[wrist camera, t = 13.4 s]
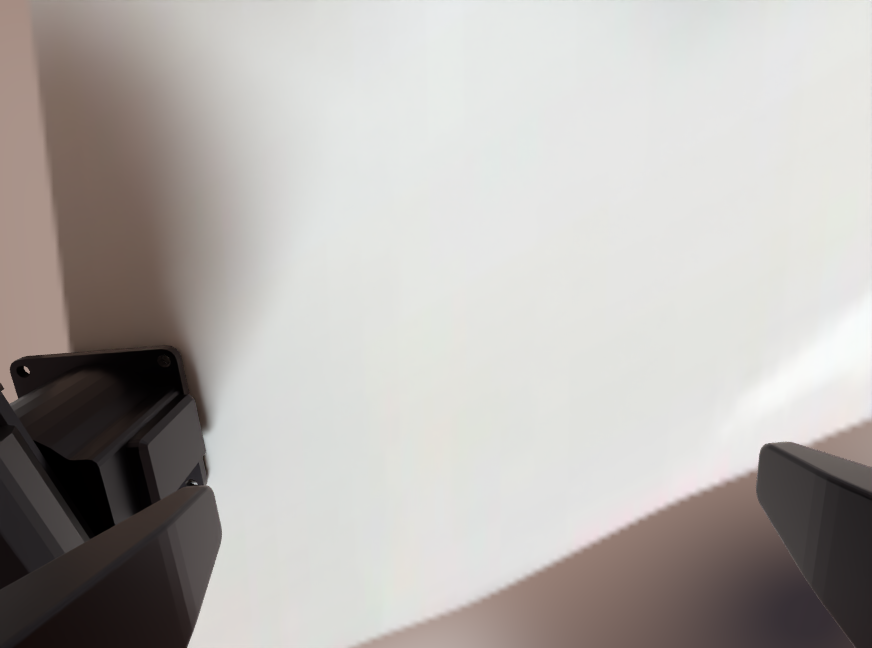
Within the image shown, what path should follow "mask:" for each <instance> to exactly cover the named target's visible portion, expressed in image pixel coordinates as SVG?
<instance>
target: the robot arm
mask: <svg viewBox="0 0 872 648" xmlns="http://www.w3.org/2000/svg"><path fill="white" fill-rule="evenodd" d="M162 355H166V356H168V357H169V358H170V360H171V363H170V364H168V363H166V362H164V361H163V359H162ZM24 366H26V367H27V368H28V369H29V371H30V374H28V373H27V372H25V370H24ZM10 373H11V376H12V380H13V383H14V386H15V389H16V393H17V396H18V399H17V400H16V401H14V402H12V403H10V404H9V403H8V401H7V400H6V398H5V397H4V395H3V394H2V392H1V391H2V390H3V389H4V388H3V386H2V384H1V383H0V648H187V646H188V644H189V641H190V638H191V636H192V633H193V631H194V628H195V625H196V622H197V619H198V616H199V613H200V609H201V606H202V603H203V600H204V596H205V593H206V590H207V587H208V583H209V580H210V577H211V573H212V570H213V567H214V564H215V560H216V557H217V554H218V551H219V547H220V544H221V539H222V529H221V523H220V519H219V514H218V510H217V505H216V500H215V496H214V492H213V490H212V488H210V487H209V486H207V485H206V484H207V475H206V470H205V465H204V461H203V456H204V454H205V453H206V450H205V445H204V440H203V435H202V431H201V426H200V421H199V417H198V412H197V407H196V402H195V399H194V398H193V397H192V396H191V395H190V394H189V391H188V386H187V381H186V377H185V372H184V367H183V363H182V358H181V355H180V353H179V351H178V350H177V349H176V348H174V347H172V346H156V347H142V348H129V349H116V350H102V351H89V352H76V353H62V354H51V355H36V356H26V357H22V358H20V359H18V360H16V361H14V362H13V363H12V364H11V367H10ZM190 479H192V480H195V481H196V482H197V484H198V485H194V484H192V483H191V482H190ZM756 493H757V497H758V500H759V503H760V505H761V507H762V508H763V510H764V512H765V513H766V515H767V517H768V518H769V520H770V521H771V523H772V525H773V526H774V528H775V530H776V531H777V533H778V535H779V536H780V538H781V540H782V541H783V543H784V545H785V546H786V548H787V549H788V551H789V553H790V554H791V556H792V558H793V559H794V561H795V563H796V564H797V566H798V568H799V569H800V571H801V573H802V574H803V576H804V577H805V579H806V580H807V582H808V583H809V585H810V587H811V588H812V589H813V591H814V592H815V594H816V595H817V596H818V598H819V599H820V601H821V602H822V604H823V605H824V606H825V607H826V609H827V610H828V612H829V613H830V614H831V616H832V617H833V618H834V620H835V621H836V622H837V624H838V625H839V626H840V628H841V629H842V630H843V632H844V633H845V634H846V636H847V637H848V638H849V640H850V641H851V642H852V644H853V645H854V646H855V648H872V467H870V466H866V465H863V464H860V463H857V462H854V461H850V460H847V459H844V458H841V457H838V456H835V455H831V454H828V453H825V452H822V451H818V450H815V449H812V448H809V447H806V446H803V445H799V444H796V443H793V442H778V443H768V444H765V445H764V446H763V447H762V448H761V450H760V454H759V464H758V474H757V483H756Z"/></svg>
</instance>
